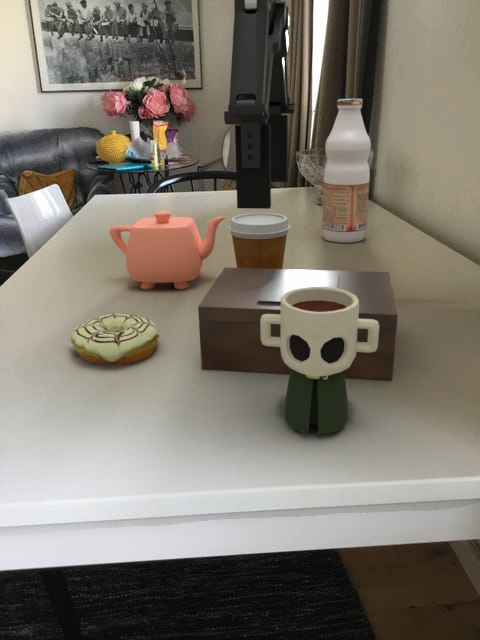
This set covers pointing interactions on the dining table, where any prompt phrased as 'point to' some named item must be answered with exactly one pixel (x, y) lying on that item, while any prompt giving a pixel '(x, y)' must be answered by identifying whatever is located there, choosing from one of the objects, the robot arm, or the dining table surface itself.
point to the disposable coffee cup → (259, 240)
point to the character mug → (318, 353)
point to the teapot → (165, 249)
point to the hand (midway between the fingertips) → (265, 193)
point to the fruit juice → (346, 176)
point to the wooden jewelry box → (265, 298)
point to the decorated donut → (115, 338)
